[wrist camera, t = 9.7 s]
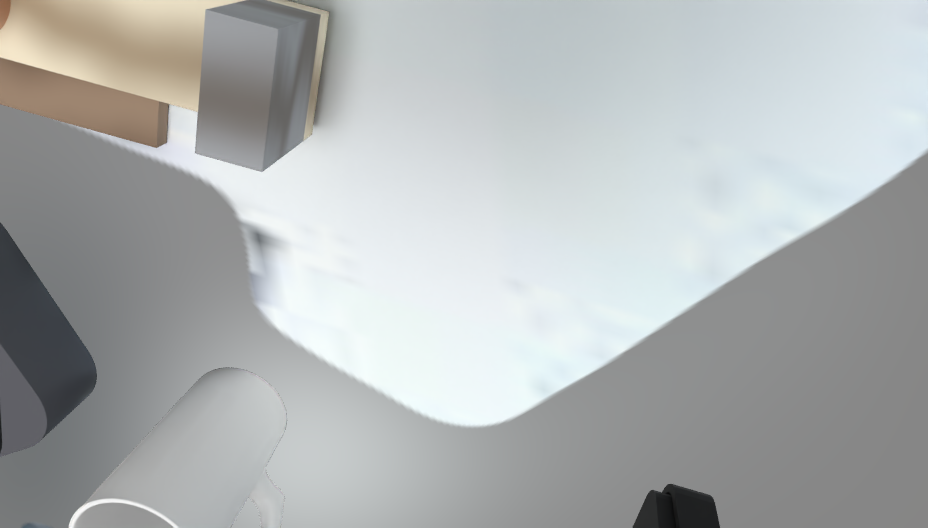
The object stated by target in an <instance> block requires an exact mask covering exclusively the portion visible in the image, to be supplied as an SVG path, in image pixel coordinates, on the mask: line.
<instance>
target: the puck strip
mask: <svg viewBox="0 0 928 528" xmlns="http://www.w3.org/2000/svg"><path fill="white" fill-rule="evenodd" d="M328 18H329V12H328V11H324V10H321V9H317V8H313V7H309V6H306V5H302V4H298V3H294V2H291V1H287V0H11V7H10V13H9V16H8V19H7V21H6V23H5V25H4V26H3V27H2V29H1V30H0V57H1V58H4V59H8V60H12V61H15V62H19V63H22V64H26V65H30V66H33V67H37V68H41V69H44V70H48V71H51V72H55V73H59V74H62V75H66V76H70V77H73V78H77V79H80V80H84V81H88V82H91V83H95V84H99V85H102V86H106V87H109V88H113V89H117V90H120V91H124V92H128V93H131V94H135V95H138V96H142V97H146V98H149V99H153V100H157V101H160V102H164V103H167V104H171V105H175V106H178V107H182V108H186V109H189V110H193V111H196V112H198V119H197V133H196V147H195V153H196V154H199V155H203V156H206V157H210V158H214V159H217V160H221V161H224V162H228V163H232V164H235V165H239V166H242V167H246V168H250V169H253V170H257V171H260V172H263V171H264V170H265V169H267V168H268V167H269V166H271V165H272V164H273V163H275V162H276V161H277V160H279V159H280V158H281V157H283V156H284V155H285V154H287V153H288V152H289V151H291V150H292V149H293V148H295V147H296V146H297V145H299V144H300V143H301V142H303V141H304V140H305V139H307V138H308V137H309V136H311V135H312V130H313V123H314V116H315V109H316V102H317V95H318V88H319V81H320V74H321V67H322V60H323V53H324V46H325V39H326V32H327V25H328Z"/></svg>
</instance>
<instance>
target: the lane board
mask: <svg viewBox="0 0 928 528" xmlns="http://www.w3.org/2000/svg"><path fill="white" fill-rule="evenodd" d="M0 104H1V105H5V106H8V107H12V108H15V109H19V110H23V111H26V112H30V113H33V114H37V115H40V116H44V117H48V118H51V119H55V120H58V121H62V122H65V123H69V124H73V125H76V126H80V127H83V128H87V129H91V130H94V131H98V132H101V133H105V134H108V135H112V136H116V137H119V138H123V139H126V140H130V141H134V142H137V143H141V144H144V145H148V146H152V147H155V148H157V147H159V146H161V145H163V144H165V143H166V142H167V123H168V105H169V104H167V103H164V102H160V101H157V100H153V99H149V98H146V97H142V96H138V95H135V94H131V93H128V92H124V91H120V90H117V89H113V88H109V87H106V86H102V85H99V84H95V83H91V82H88V81H84V80H80V79H77V78H73V77H70V76H66V75H62V74H59V73H55V72H51V71H48V70H44V69H41V68H37V67H33V66H30V65H26V64H22V63H19V62H15V61H12V60H8V59H4V58H1V57H0Z"/></svg>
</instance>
